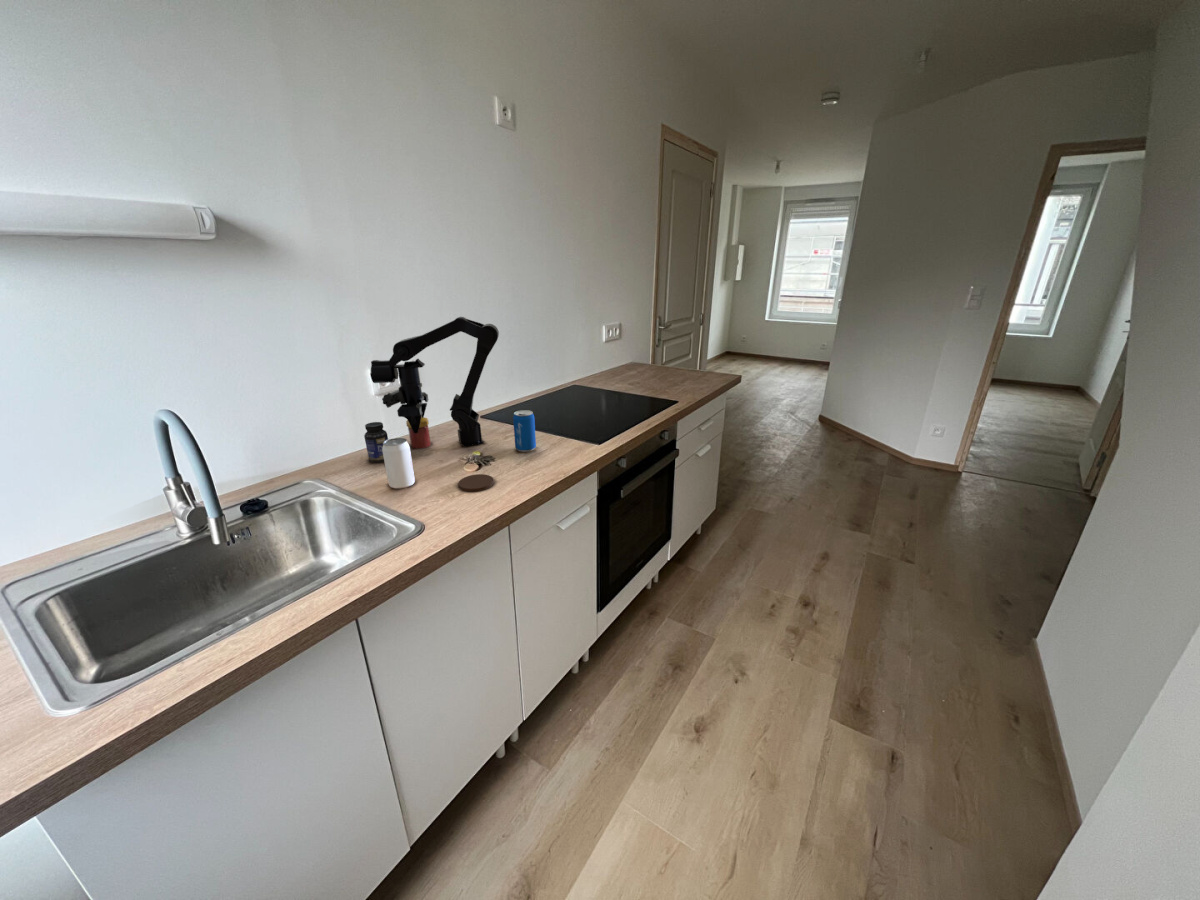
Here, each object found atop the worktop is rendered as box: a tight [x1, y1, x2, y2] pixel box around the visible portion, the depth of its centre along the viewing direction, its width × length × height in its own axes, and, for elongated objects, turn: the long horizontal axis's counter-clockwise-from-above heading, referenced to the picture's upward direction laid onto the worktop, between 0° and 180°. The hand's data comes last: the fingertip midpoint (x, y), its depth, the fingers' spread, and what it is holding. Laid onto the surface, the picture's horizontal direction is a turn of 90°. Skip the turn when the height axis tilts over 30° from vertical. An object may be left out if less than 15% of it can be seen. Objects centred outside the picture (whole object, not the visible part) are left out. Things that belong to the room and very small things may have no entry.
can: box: [382, 437, 416, 490], centre depth 117 cm, size 6×6×12 cm
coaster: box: [457, 473, 495, 493], centre depth 119 cm, size 9×9×1 cm
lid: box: [405, 416, 430, 428], centre depth 143 cm, size 6×6×2 cm
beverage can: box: [512, 409, 537, 453], centre depth 141 cm, size 6×6×12 cm
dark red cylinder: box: [407, 424, 432, 450], centre depth 145 cm, size 6×6×8 cm
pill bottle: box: [363, 421, 389, 463], centre depth 133 cm, size 6×6×11 cm
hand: (417, 429), depth 144 cm, fingers closed on lid, 6 cm apart
